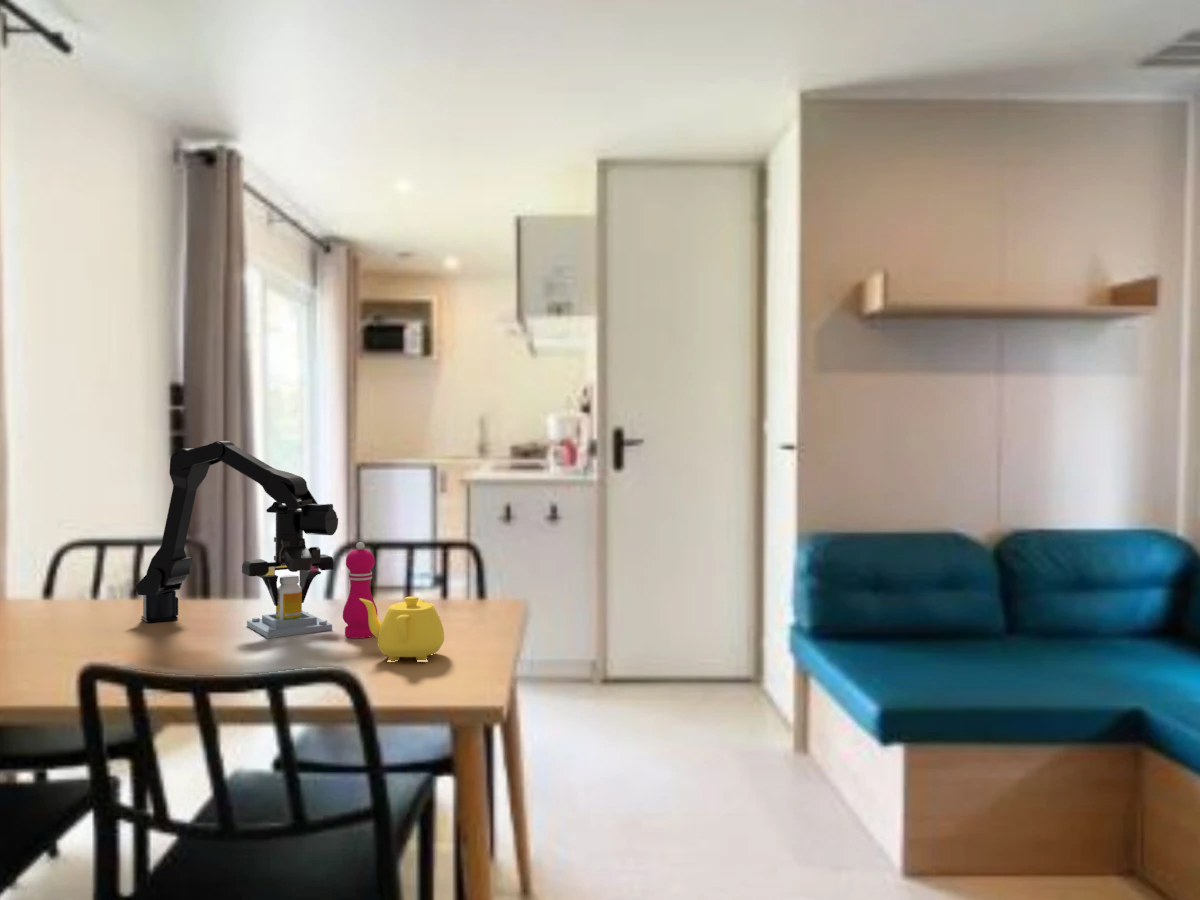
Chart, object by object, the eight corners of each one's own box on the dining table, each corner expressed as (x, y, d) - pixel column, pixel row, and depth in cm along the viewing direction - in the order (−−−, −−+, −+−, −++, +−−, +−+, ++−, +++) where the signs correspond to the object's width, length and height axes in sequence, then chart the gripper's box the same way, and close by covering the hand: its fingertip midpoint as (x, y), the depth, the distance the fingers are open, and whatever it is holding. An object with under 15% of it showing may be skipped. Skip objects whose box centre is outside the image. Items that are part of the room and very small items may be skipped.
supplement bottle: (306, 619, 210) (307, 575, 210) (291, 623, 205) (291, 579, 205) (286, 617, 212) (286, 573, 211) (270, 621, 207) (271, 577, 206)
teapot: (418, 645, 195) (418, 587, 194) (460, 658, 184) (460, 597, 184) (358, 656, 185) (358, 595, 184) (398, 670, 175) (399, 606, 174)
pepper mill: (384, 633, 204) (384, 541, 204) (362, 640, 198) (363, 545, 197) (357, 630, 207) (357, 539, 207) (335, 636, 201) (335, 542, 200)
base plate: (267, 638, 199) (267, 625, 198) (246, 626, 210) (246, 614, 210) (332, 629, 207) (332, 618, 207) (308, 618, 218) (308, 607, 218)
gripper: (258, 540, 196) (257, 615, 196) (344, 534, 207) (343, 605, 207) (241, 534, 204) (241, 606, 205) (325, 529, 216) (324, 597, 216)
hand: (288, 604), depth 208 cm, fingers closed on supplement bottle, 5 cm apart
